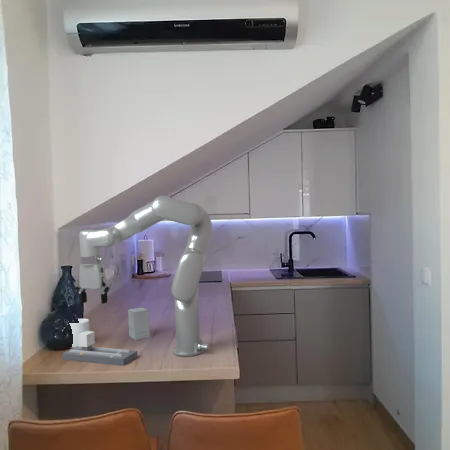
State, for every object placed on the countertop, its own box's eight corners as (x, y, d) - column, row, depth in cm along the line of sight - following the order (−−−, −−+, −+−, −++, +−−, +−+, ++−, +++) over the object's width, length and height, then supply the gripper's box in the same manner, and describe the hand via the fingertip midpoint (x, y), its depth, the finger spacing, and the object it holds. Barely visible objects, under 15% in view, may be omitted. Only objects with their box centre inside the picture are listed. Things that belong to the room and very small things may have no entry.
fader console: (137, 357, 188) (137, 348, 188) (123, 365, 178) (123, 357, 178) (78, 351, 198) (78, 343, 198) (62, 359, 188) (62, 351, 188)
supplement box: (150, 337, 215) (149, 309, 214) (134, 340, 211) (133, 312, 210) (144, 333, 221) (142, 306, 221) (128, 336, 217) (127, 309, 217)
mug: (64, 343, 210) (62, 319, 210) (91, 341, 212) (90, 317, 211) (59, 349, 202) (57, 324, 201) (88, 347, 203) (86, 322, 202)
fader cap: (95, 348, 192) (94, 331, 191) (87, 352, 187) (86, 335, 187) (86, 347, 193) (85, 330, 193) (79, 351, 188) (78, 334, 188)
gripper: (114, 259, 191) (117, 301, 192) (78, 259, 197) (81, 300, 198) (104, 261, 184) (107, 305, 185) (67, 262, 190) (70, 304, 191)
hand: (94, 302), depth 191 cm, fingers open, 9 cm apart
